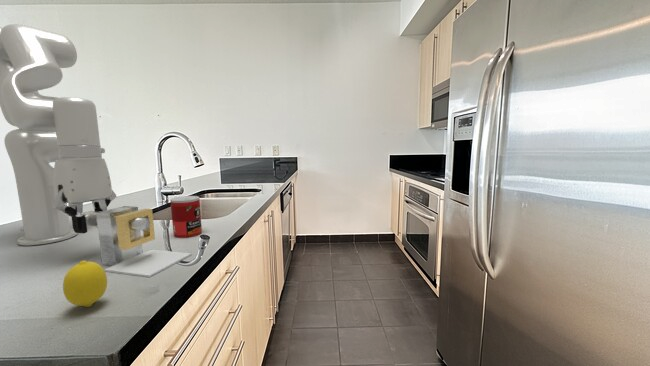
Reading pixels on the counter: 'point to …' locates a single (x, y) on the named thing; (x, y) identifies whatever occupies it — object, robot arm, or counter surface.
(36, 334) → the counter surface
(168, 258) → the mat
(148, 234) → the frame
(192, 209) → the canned food
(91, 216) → the shaft
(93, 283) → the lemon
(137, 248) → the bearing block
